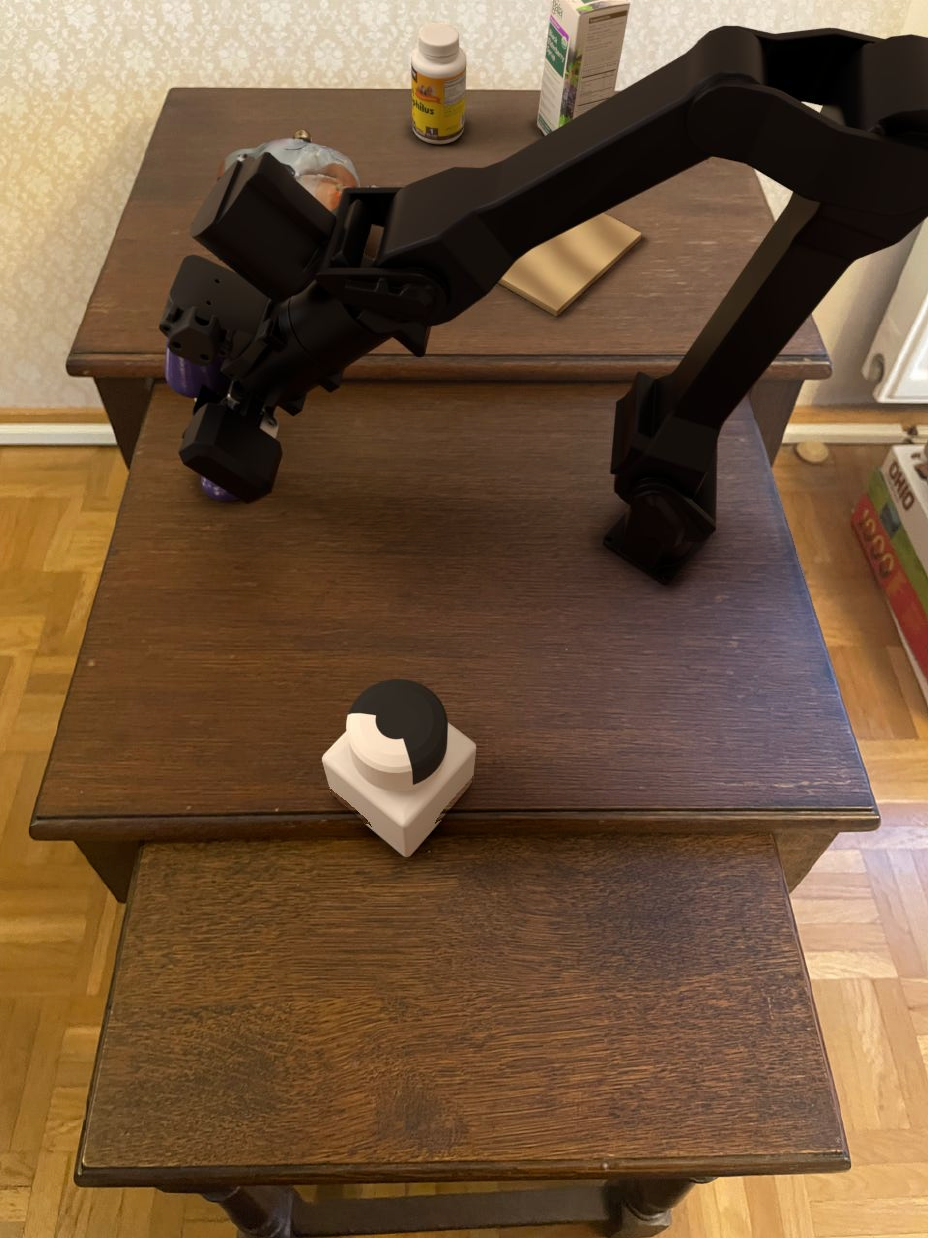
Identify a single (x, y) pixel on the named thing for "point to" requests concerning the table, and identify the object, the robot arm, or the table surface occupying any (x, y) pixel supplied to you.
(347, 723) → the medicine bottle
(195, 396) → the toy lamp
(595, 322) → the table surface
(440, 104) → the supplement bottle
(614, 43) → the syrup box
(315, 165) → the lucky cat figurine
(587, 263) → the mat
